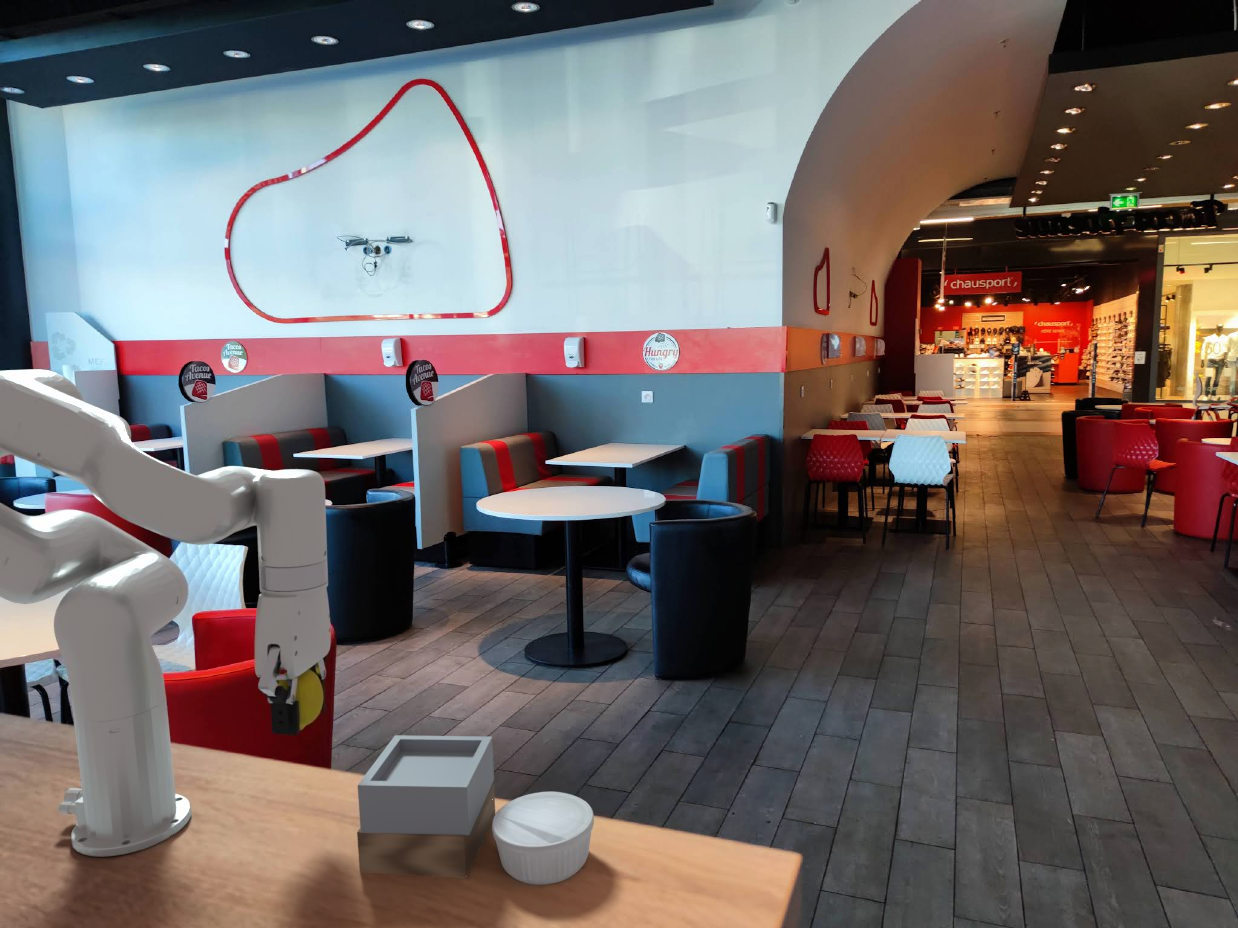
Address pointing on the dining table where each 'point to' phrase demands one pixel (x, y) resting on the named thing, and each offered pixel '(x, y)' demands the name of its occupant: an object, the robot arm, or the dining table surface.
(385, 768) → the tower top block
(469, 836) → the tower bottom block
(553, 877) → the ramekin
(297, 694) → the lemon
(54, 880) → the dining table surface
